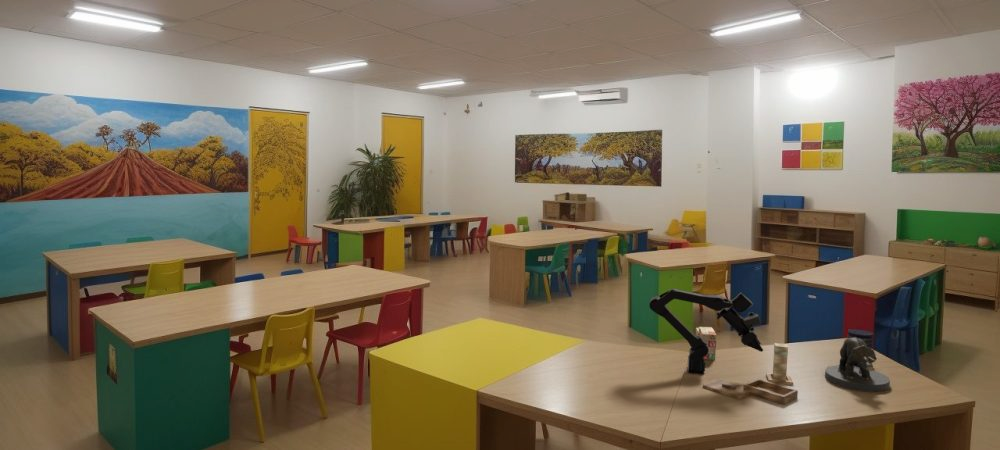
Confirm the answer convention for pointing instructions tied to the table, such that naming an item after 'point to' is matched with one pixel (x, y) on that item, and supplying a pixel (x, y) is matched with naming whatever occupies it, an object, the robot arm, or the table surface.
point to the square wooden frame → (787, 382)
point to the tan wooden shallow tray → (771, 391)
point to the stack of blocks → (708, 340)
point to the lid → (727, 388)
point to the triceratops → (857, 368)
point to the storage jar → (861, 337)
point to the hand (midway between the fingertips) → (761, 347)
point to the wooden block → (780, 361)
